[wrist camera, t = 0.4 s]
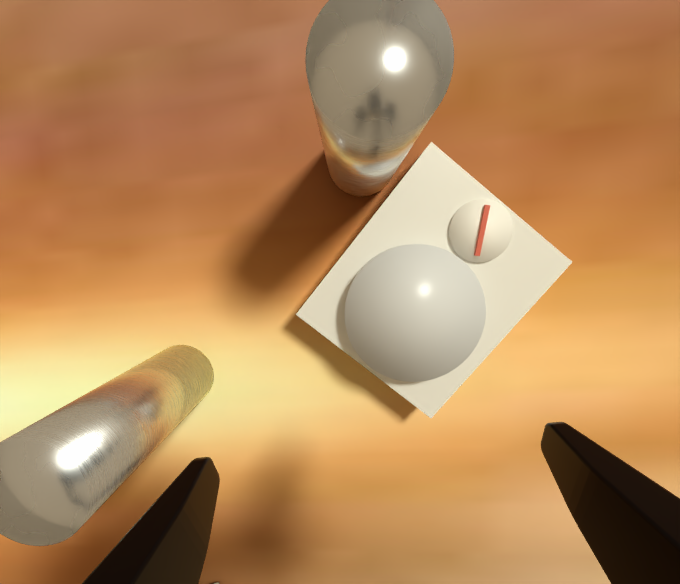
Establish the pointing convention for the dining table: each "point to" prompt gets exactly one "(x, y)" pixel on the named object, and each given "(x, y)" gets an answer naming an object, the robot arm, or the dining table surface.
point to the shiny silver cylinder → (94, 445)
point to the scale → (433, 282)
